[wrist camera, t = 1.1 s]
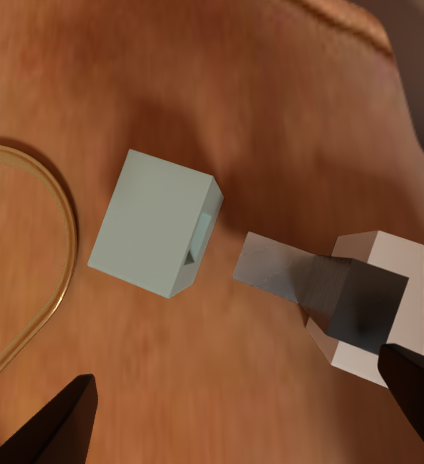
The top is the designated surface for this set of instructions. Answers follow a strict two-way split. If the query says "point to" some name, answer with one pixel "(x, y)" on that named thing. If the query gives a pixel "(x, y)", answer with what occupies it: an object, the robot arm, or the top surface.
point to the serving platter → (40, 172)
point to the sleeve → (410, 310)
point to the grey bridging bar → (326, 289)
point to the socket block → (157, 224)
